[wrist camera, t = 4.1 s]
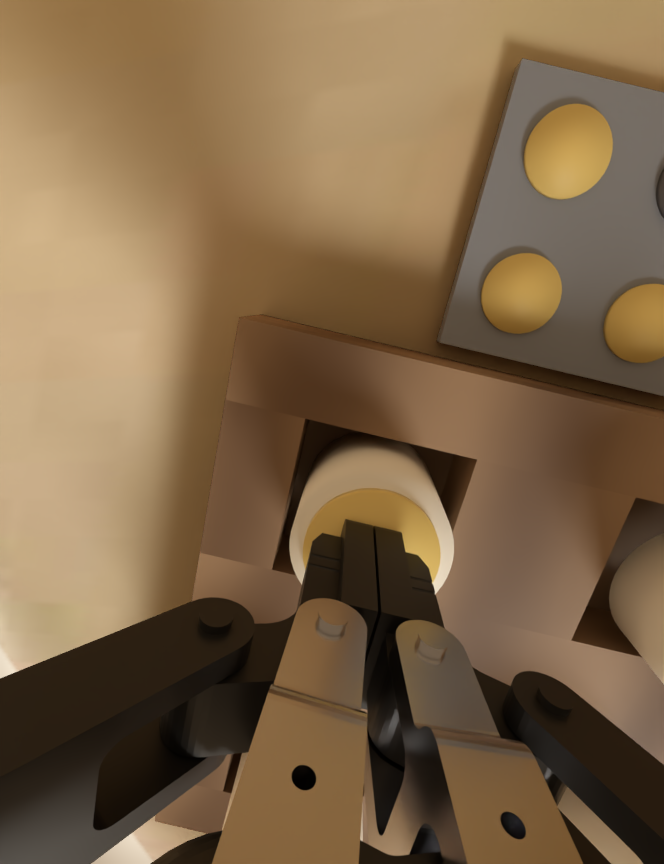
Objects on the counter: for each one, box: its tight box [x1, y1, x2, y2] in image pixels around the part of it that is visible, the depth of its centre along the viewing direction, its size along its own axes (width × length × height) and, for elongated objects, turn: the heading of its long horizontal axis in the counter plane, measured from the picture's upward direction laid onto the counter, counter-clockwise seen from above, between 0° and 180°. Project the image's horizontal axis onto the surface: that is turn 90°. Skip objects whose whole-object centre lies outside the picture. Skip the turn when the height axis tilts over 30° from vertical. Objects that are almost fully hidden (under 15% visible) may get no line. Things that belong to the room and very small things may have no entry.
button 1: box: [289, 432, 454, 594], centre depth 14 cm, size 4×4×4 cm
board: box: [155, 315, 664, 844], centre depth 17 cm, size 20×20×3 cm
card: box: [437, 58, 664, 396], centre depth 14 cm, size 8×8×1 cm
